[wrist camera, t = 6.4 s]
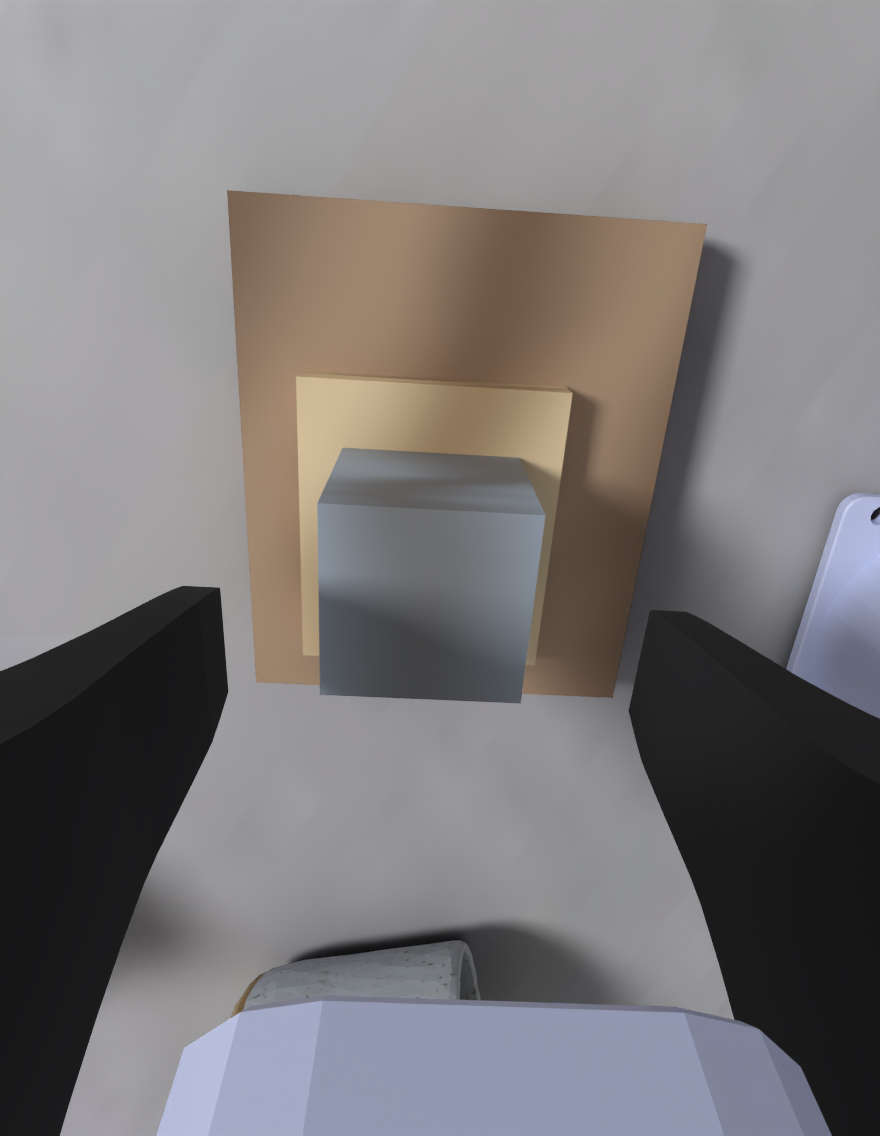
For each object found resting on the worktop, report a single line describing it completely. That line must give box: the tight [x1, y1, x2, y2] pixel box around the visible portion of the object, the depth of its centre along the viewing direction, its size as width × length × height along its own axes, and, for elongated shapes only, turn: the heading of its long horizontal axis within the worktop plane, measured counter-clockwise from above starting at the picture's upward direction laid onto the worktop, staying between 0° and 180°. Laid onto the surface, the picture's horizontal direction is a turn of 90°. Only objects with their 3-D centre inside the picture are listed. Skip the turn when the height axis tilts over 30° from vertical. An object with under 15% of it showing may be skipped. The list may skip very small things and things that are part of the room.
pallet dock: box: [227, 190, 707, 698], centre depth 17 cm, size 10×12×2 cm
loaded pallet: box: [296, 370, 573, 703], centre depth 15 cm, size 6×7×5 cm
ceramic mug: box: [230, 940, 481, 1018], centre depth 24 cm, size 11×8×8 cm
